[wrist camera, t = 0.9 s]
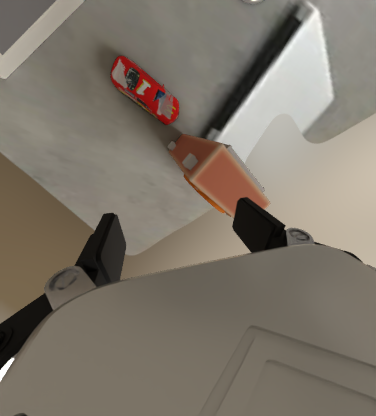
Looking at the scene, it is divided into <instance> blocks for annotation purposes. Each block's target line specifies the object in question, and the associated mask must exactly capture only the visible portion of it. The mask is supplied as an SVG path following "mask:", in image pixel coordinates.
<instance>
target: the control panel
mask: <svg viewBox="0 0 376 416" xmlns="http://www.w3.org/2000/svg"><path fill="white" fill-rule="evenodd" d="M168 148H169V149H170V150H169V153H170V155H171V156H172V157H173V159H174V160H175V162H176V163H177V164H178V166H179V167H180V168H181V170H182V171H183V172H184V178H185V179H186V180H187V182H188V183H189V184H190V185H191V186H192V187H193V188H194V189H195V190H196V191H197V192H198V193H199V194H200V195H201V196H202V197H203V198H204V199H205V200H207V201H208V202H209V203H210V204H211V205H212V206H213V207H215V208H216V209H217V210H218V211H220V212H222V213H224V212H226V214H227V215H228V216H230V217H233V218H234V215H235V210H236V205H237V201H238V200H239V199H240V198H244V197H248V198H249V199H251V200H252V201H253V202H255V203H256V204H257V205H259V206H260V207H261V208H263V209H265V208H267V207H268V206H269V205H270V201H269V200H268V199H267V197H266V196H265V195H264V194H263V192H264V191H265V190H264V187H262V186H261V185H260V183H259V182H258V181H257V179H256V178H255V177H254V176H253V174H252V173H251V172H250V170H249V169H248V168H247V167H246V165H245V164H244V163H243V161H242V160H241V159H240V158H239V156H238V155H237V154H236V153H235V151H234V150H233V149H232V146H231V145H226V144H222V143H219V142H215V141H210V140H206V139H202V138H198V137H194V136H190V135H186V134H182V135H181V136H180V137H179V139H178V140H177V141H176V143H175V142H173V141H171V142H170V144H169V145H168Z"/></svg>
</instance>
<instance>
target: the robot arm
mask: <svg viewBox="0 0 376 416" xmlns="http://www.w3.org/2000/svg"><path fill="white" fill-rule="evenodd" d="M242 1H243V2H246V3H248V4H258V3H261V2H263V1H264V0H242ZM232 227H233V229H234V231H235V232H236V234H237V235H238V236H239V237H240V239H241V240H242V241H243V243H244V244H245V245H246V246H247V248H248V249H249V250H250V251H251V253H248V254H243V255H238V256H233V257H228V258H223V259H218V260H213V261H208V262H203V263H198V264H193V265H189V266H184V267H179V268H174V269H170V270H165V271H160V272H155V273H151V274H146V275H141V276H137V277H132V278H128V279H124V280H120V276H121V271H122V266H123V261H124V255H125V250H126V242H125V239H124V235H123V232H122V229H121V226H120V223H119V219H118V216H117V215H114V213H107V214H103V216H102V218H101V220H100V222H99V224H98V226H97V228H96V230H95V232H94V234H92V235H91V236H90V238H89V239H88V241H87V243H86V245H85V247H84V249H83V251H82V252H81V254H80V256H79V258H78V260H77V262H76V264H75V266H71V267H67V268H64V269H62V270H60V271H59V272H57V273H56V274H54V275H53V276H52V277H51V278H50V279H49V280H48V281H47V283H46V285H45V287H44V290H45V293H44V294H43V295H41V296H40V297H39V298H37V299H36V300H34V301H33V302H31V303H30V304H28V305H27V306H25V307H24V308H23V309H21V310H20V311H18V312H17V313H15V314H14V315H13V316H11V317H10V318H8V319H7V320H5V321H4V322H2V323H1V324H0V416H376V268H374V267H372V266H370V265H366V264H364V263H363V262H362V261H361V260H360V259H359V258H357V257H356V256H355V255H354V254H352V253H350V252H347V251H343V250H340V249H337V248H333V247H330V246H326V245H323V244H320V243H316V242H314V240H313V238H312V237H311V235H310V234H308V233H307V232H305V231H303V230H301V229H297V228H289V229H287V230H284V228H285V225H284V224H283V223H281V222H280V221H279V220H277V219H276V218H275V217H273V216H272V215H271V214H269V213H268V212H267V211H265V210H264V209H263V208H261V207H260V206H259V205H257V204H256V203H255V202H253V201H252V200H251V199H249V198H248V197H244V198H240V199H239V200H238V201H237V205H236V210H235V215H234V221H233V226H232Z"/></svg>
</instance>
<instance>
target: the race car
mask: <svg viewBox="0 0 376 416" xmlns="http://www.w3.org/2000/svg"><path fill="white" fill-rule="evenodd" d="M111 80H112V82H113V84H114V85H115V87H116V88H117V89H118V90H119V91H121V92H122V93H123V94H125V95H126V96H128V98H130V99H131V100H132V101H134V102H135V103H136V104H138V105H139V106H140V107H142V108H143V109H144V110H146V111H147V112H149V113H150V114H151V115H153V116H154V117H155V118H157V119H158V120H160V121H162V122H163V123H164V124H166V125H168V124H171V123H173V122H174V121H175V120H176V119H177V118H178V115H179V103H178V100H177V99H176V98H175V97H174V96H173V95H171V94H170V93H169V92H168V91H167V90H166V89H164V84H163V86H161V85H160V84H159V83H157V82H156V81H155V80H154V79H153V78H152V77H150V76H149V75H148V74H147V73H146V72H145V71H143V70H142V69H141V68H140V67H139V66H138V65H137V64H135V63H134V62H133V61H131V60H130V59H128V58H126V57H124V56H118V57H117V58H116V60H115V62H114V64H113V67H112V70H111Z"/></svg>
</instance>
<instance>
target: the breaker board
mask: <svg viewBox="0 0 376 416" xmlns="http://www.w3.org/2000/svg"><path fill="white" fill-rule="evenodd" d="M84 1H85V0H0V78H3V79H6V78H7V77H8V76H9V75H10V74H11V73H12V72H13V71H14V70H15V69H16V68H17V67H19V66H20V65H21V64H22V63H23V62H24V61H25V60H26V59H27V58H28V57H29V56H30V55H31V54H32V53H33V52H34V51H35V50H36V49H37V48H38V47H39V46H40V45H41V44H42V43H43V42H44V41H45V40H46V39H47V38H48V37H49V36H50V35H51V34H52V33H53V32H54V31H55V30H56V29H57V28H58V27H59V26H60V25H61V24H62V23H63V22H64V21H65V20H66V19H67V18H68V17H69V16H70V15H71V14H72V13H73V12H74V11H75V10H76V9H77V8H78V7H79V6H80V5H81V4H82V3H83V2H84Z"/></svg>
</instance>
